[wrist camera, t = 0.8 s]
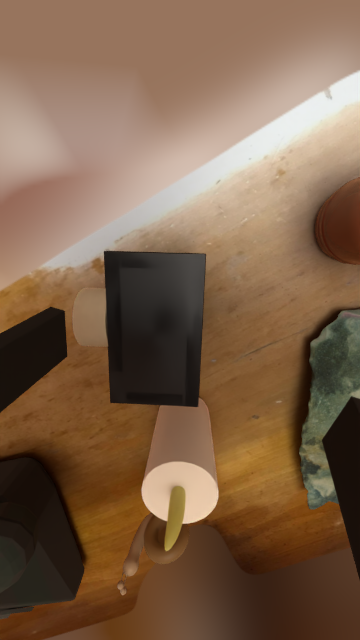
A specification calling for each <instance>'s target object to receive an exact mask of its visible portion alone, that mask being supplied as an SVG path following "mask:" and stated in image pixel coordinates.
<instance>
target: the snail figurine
mask: <svg viewBox="0 0 360 640" xmlns="http://www.w3.org/2000/svg"><path fill="white" fill-rule="evenodd" d="M166 526H167V521H165V520H163V519H160V518H158V517H157V516H156V515H154V514H153V513H152V512H151V513H150V514H149V515H147V516H146V517H145V519H144V520H143V521H142V523H141V524H140V526H139V528H138V530H137V532H136V534H135V537H134V539H133V542H132V544H131V547H130V551H129V554H128V556H127V558H126V559H125V561H124V565H123V574H124V573H125V575H126V577H127V576H132V575H134V574H135V573H136V571H137V569H138V566H139V556H140V554H141V551H142V548H143V546H144V547H145V551H146V553H147V555H148V557H149V558H150V559H151V560H152V561H154V562H156V563H159V564H167V563H170V562H173V561H174V560H176V559H177V558H178V557H180V556H181V554H182V553H183V551H184V550H185V548H186V546H187V543H188V540H189V528H188V525H187V524H182V527H181V530H180V533H179V535H178V538H177V540H176V542H175V543H174V545H173V546H172V548H171V549H170V550H168V551H166V550H165V546H164V544H165V533H166ZM123 574H122V577H123ZM125 581H126V578H125ZM125 581H124V582H123V581H122V578H121V581H119V582H118V589H119V590H120V591H121V594H122V595H124V594H125V593H126V590H127V589H126V587H125Z"/></svg>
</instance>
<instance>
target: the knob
mask: <svg viewBox="0 0 360 640" xmlns="http://www.w3.org/2000/svg"><path fill="white" fill-rule="evenodd" d="M72 325H73V332H74V336H75V338H76V340H77V342H78V343H79V344H80V345H82V346H97V347H108V334H107V311H106V288H83V289H81V290H80V291H79V293H78V294H77V296H76V299H75V302H74V306H73V312H72Z"/></svg>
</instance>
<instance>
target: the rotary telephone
mask: <svg viewBox="0 0 360 640" xmlns="http://www.w3.org/2000/svg"><path fill="white" fill-rule="evenodd" d="M81 560H82V558H81V555H80V553H79V550H78V547H77V545H76V542H75V539H74V537H73V534H72V531H71V528H70V526H69V523H68V520H67V518H66V515H65V512H64V509H63V507H62V504H61V501H60V499H59V496H58V493H57V490H56V488H55V485H54V483H53V481H52V480H51V478H50V477H49V475H48V474H47V472H46V471H45V469H44V468H43V466H42V465H41V463H40V462H38V461H37V460H35V459H34V458H28V457H26V458H19V459H14V460H9V461H4V462H0V619H3V618H8V617H9V615H10V614H12V613H20V612H27V611H32V609H33V608H34V607H29V606H35V605H42V604H49V603H57V602H65V601H72V600H74V599H75V597H76V594H77V591H78V588H79V585H80V583H81V580H82V577H83V574H84V566H83V563H82V561H81ZM23 607H27V608H23ZM17 608H18V609H17Z"/></svg>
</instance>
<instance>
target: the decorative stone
mask: <svg viewBox="0 0 360 640" xmlns="http://www.w3.org/2000/svg"><path fill="white" fill-rule="evenodd" d="M310 350H311V355H310V358H309V363H310V366H311V369H312V380H311V382H310V384H311V387H310V392H311V396H310V400H309V402H308V406H309V409H308V415H307V417H306V421H305V422H304V423H303V424H302V434H301V437H302V443H301V446H300V448H299V455H300V457H301V463H300V466H301V472H302V474H303V476H302V477H303V483H304V486H305V488H306V489H307V490H308V494H307V497H308V506H309V509H316V508H318V507H320V506H322V505H324V504H325V503H327V502H328V501H331V502H334V503H337V504H339V502H338V498H337V494H336V491H335V487H334V483H333V480H332V476H331V472H330V469H329V465H328V461H327V458H326V454H325V450H324V447H323V443H322V439H323V437H324V436H325V434H326V433H327V432H328V430H329V429H330V427H331V426H332V424H333V423H334V421H335V420H336V418H337V417H338V415H339V414H340V412H341V411H342V409H343V408H344V406H345V405H346V403H347V402H348V400H349V399H350V397H351V396H353V397H356V398H359V399H360V309H358V310H343V311H341V312H340V314H339V315H338V318H337V319H336V320H335V321H334V322H332V323H331V324H329V325H328V326H326V327H325V328H324V329H323V330H322V332H321V334H320V336H319V337H318V338H317V339H314V340H313V341H312V342H311V343H310Z"/></svg>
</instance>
